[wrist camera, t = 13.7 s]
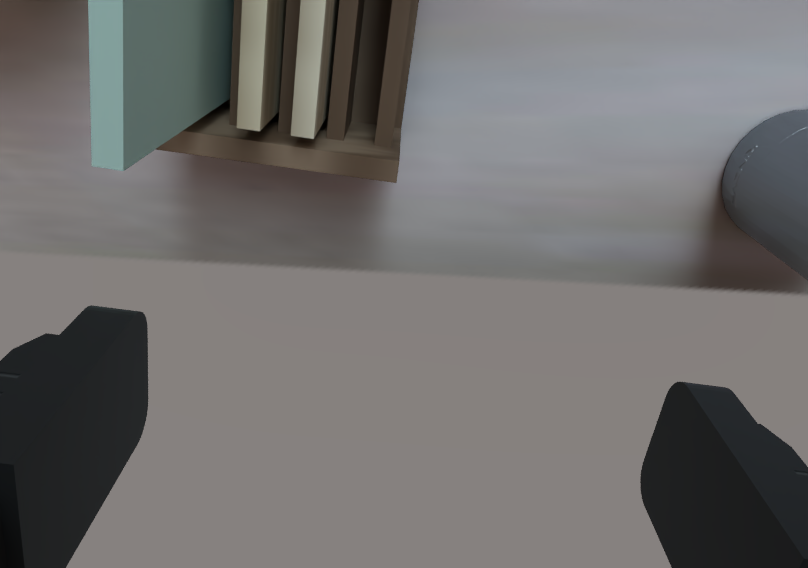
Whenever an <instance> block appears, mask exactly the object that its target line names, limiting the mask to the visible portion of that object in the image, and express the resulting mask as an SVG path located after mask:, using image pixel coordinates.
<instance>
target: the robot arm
mask: <svg viewBox="0 0 808 568" xmlns="http://www.w3.org/2000/svg"><path fill="white" fill-rule="evenodd" d="M722 196H723V201H724V205H725V208H726V210H727V212H728V214H729V216H730V218H731V219H732V220H733V221H734V223H735V224H736V225H737V226H738V227H739V228H740V229H742V230H743V231H744V232H746V233H747V234H748V235H750V236H751V237H752V238H753V239H755V240H756V241H757V242H759V243H760V244H761V245H763V246H764V247H765V248H766V249H767V250H769V251H770V252H771V253H773V254H774V255H775V256H777V257H778V258H779V259H781V260H782V261H783V262H784V263H786V264H787V265H788V266H790V267H791V268H792V269H794V270H795V271H796V272H798V273H799V274H800V275H802V276H803V277H804V278H805V279H807V280H808V110H794V111H790V112H786V113H782V114H779V115H776V116H774V117H772V118H770V119H768V120H766V121H764V122H763V123H761V124H760V125H758V126H757V127H756V128H754V129H753V130H751V131H750V132H749V133H748V134H747V135H746V136H745V137H744V138H743V139H742V140H741V141H740V143H739V144H738V146H737V147H736V149H735V150H734V152H733V153H732V154H731V157H730V159H729V161H728V163H727V166H726V168H725V172H724V176H723V181H722ZM147 343H148V338H147V321H146V317H145V315H144V314H143V313H142V312H138V311H131V310H122V309H114V308H107V307H99V306H88V307H87V308H85V309H84V311H82V312H81V314H80V315H78V316H77V317H76V319H75V320H74V321H73V322H72V323H71V324H70V325H69V326H68V327H67V328H66V329H65V330H64V331H63V332H62V333H61V334H60V335H54V334H44V335H42V336H40V337H38V338H36V339H33V340H31V341H29V342H27V343H25V344H23V345H21V346H19V347H17V348H15V349H13V350H11V351H10V352H9V353H8V354H7V355H6V356H5V357H4V358H3V359H2V360H1V361H0V568H66V566H67V564H68V563H69V561H70V559H71V558H72V556H73V554H74V552H75V550H76V549H77V547H78V546H79V544H80V542H81V540H82V539H83V537H84V535H85V534H86V532H87V530H88V528H89V527H90V525H91V523H92V522H93V520H94V518H95V516H96V514H97V513H98V511H99V509H100V508H101V506H102V504H103V502H104V501H105V499H106V497H107V496H108V494H109V492H110V490H111V489H112V487H113V485H114V484H115V482H116V480H117V478H118V477H119V475H120V473H121V472H122V470H123V468H124V466H125V465H126V463H127V461H128V460H129V458H130V456H131V454H132V453H133V451H134V449H135V448H136V446H137V444H138V442H139V440H140V438H141V435H142V432H143V429H144V425H145V421H146V416H147V409H148V344H147ZM641 494H642V499H643V503H644V506H645V508H646V510H647V513H648V515H649V517H650V519H651V521H652V524H653V526H654V528H655V530H656V533H657V535H658V537H659V539H660V542H661V544H662V546H663V549H664V551H665V553H666V555H667V557H668V560H669V562H670V564H671V567H672V568H808V467H807V466H806V464H805V463H804V462H803V461H802V460H801V458H800V457H799V456H798V455H797V453H796V452H795V451H794V450H793V449H792V447H790V446H789V445H788V444H786V443H785V442H783V441H782V440H781V439H780V438H779V437H777V436H776V435H775V434H773V433H772V432H771V431H769V430H768V429H767V428H765V427H764V426H763V425H761V424H757V422H756V421H755V420H754V418H753V417H752V416H751V415H750V413H749V412H748V411H747V410H746V408H745V407H744V406H743V404H742V403H741V402H740V401H739V399H738V398H737V397H736V395H735V394H734V393H733V392H732V391H731V390H730V389H728V388H725V387H716V386H709V385H701V384H693V383H686V382H677V383H675V384H674V385H673V386H671V388H670V389H669V391H668V393H667V395H666V398H665V401H664V404H663V407H662V410H661V412H660V415H659V419H658V421H657V424H656V427H655V430H654V433H653V436H652V438H651V441H650V444H649V447H648V450H647V453H646V456H645V459H644V462H643V466H642V470H641Z"/></svg>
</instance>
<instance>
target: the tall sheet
mask: <svg viewBox="0 0 808 568" xmlns="http://www.w3.org/2000/svg"><path fill="white" fill-rule="evenodd" d="M233 15H234V0H88V18H89V63H90V109H91V154H92V166H94V167H100V168H107V169H113V170H120V171H124V170H126V169H127V168H129V167H130V166H132V165H133V164H134V163H136V162H137V161H139V160H140V159H142V158H143V157H145V156H146V155H148V154H149V153H151V152H152V151H154V150H155V149H157V148H158V147H159V146H161V145H162V144H164V143H165V142H167V141H168V140H170V139H171V138H173V137H174V136H176V135H177V134H179V133H180V132H182V131H183V130H184V129H186V128H187V127H189V126H190V125H192V124H193V123H195V122H196V121H198V120H199V119H201V118H202V117H204V116H205V115H207V114H208V113H209V112H211V111H212V110H214V109H215V108H217V107H218V106H220V105H221V104H223V103H224V102H226V101H227V100H229V99H230V92H231V66H232V41H233Z"/></svg>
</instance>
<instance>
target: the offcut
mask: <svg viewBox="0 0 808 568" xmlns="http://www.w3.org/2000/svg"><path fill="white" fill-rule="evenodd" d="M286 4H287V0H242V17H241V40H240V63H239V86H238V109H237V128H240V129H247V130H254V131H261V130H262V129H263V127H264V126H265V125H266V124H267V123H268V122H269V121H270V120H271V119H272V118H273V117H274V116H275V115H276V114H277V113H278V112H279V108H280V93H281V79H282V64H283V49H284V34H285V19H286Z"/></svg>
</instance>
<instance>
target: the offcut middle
mask: <svg viewBox="0 0 808 568" xmlns="http://www.w3.org/2000/svg"><path fill="white" fill-rule="evenodd" d="M339 1H340V0H301V4H300V17H299V31H298V44H297V57H296V71H295V84H294V97H293V111H292V124H291V136H297V137H304V138H311V139H314V137H315V136H316V134H317V132H318V131H319V129H320V127H321V126H322V124H323V122H324V120H325V119H326V117H327V115H328V114H329V105H330V95H331V84H332V74H333V63H334V53H335V42H336V32H337V22H338V11H339Z"/></svg>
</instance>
